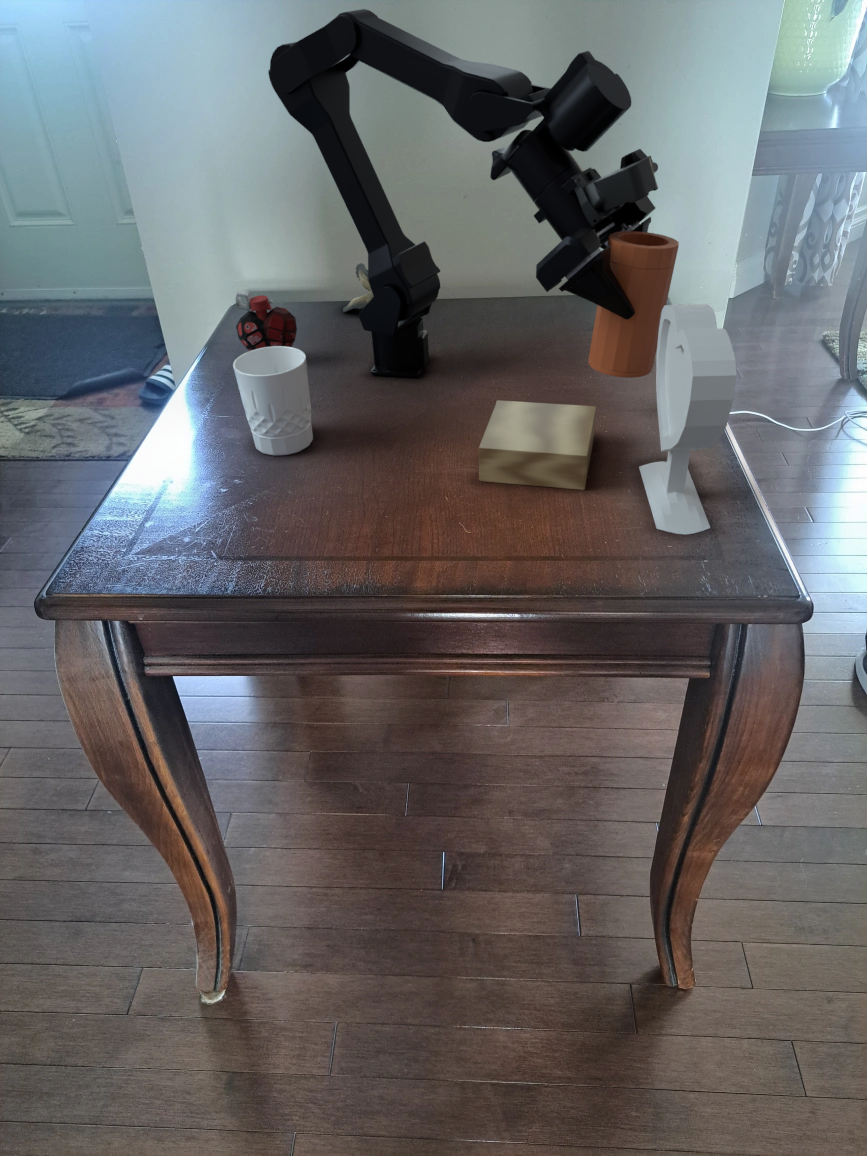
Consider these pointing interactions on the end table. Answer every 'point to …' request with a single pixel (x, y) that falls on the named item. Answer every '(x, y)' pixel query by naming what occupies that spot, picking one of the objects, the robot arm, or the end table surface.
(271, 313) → the grenade
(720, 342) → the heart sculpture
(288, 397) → the white cup
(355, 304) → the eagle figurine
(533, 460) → the birch block
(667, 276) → the jar
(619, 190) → the robot arm
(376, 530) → the end table surface
